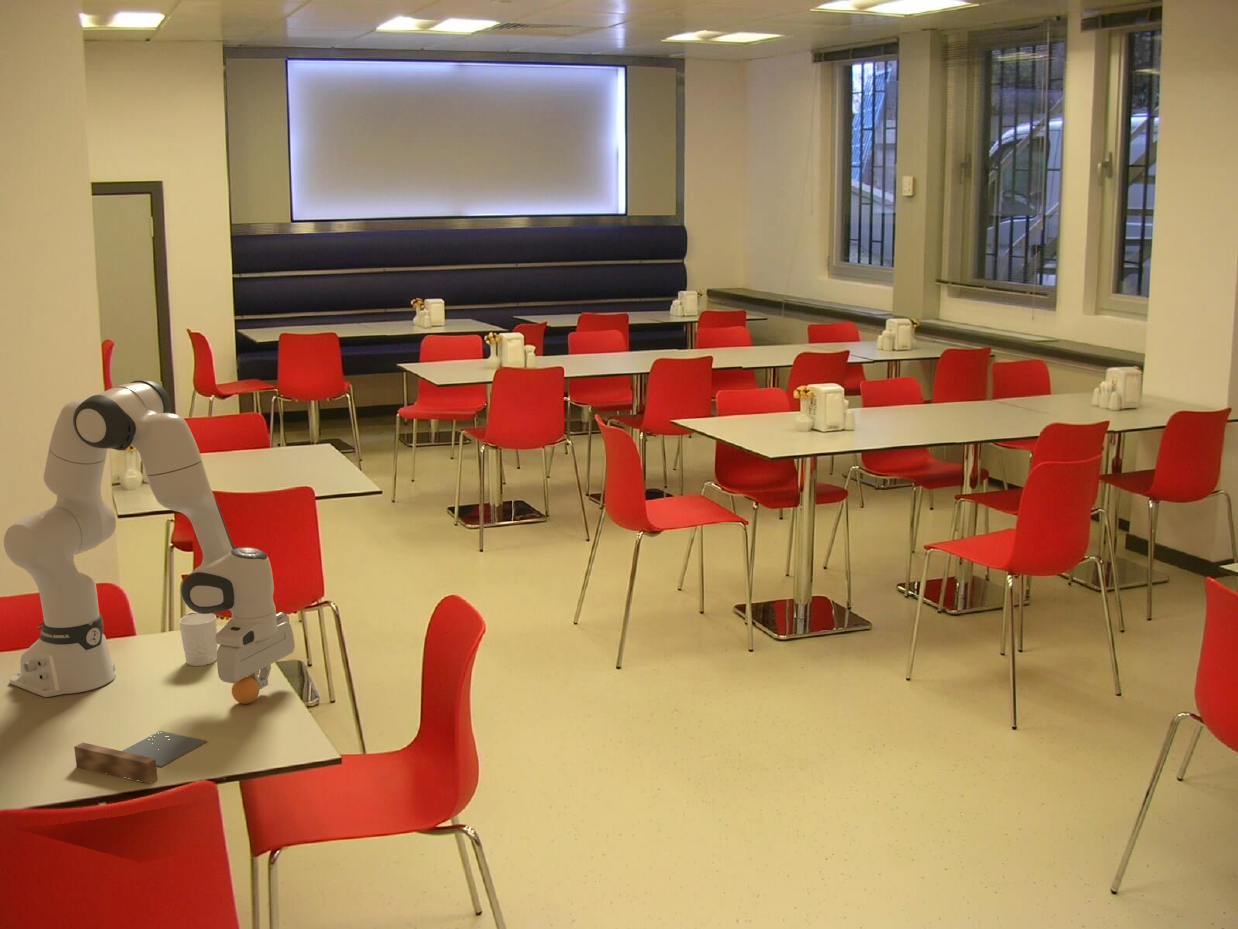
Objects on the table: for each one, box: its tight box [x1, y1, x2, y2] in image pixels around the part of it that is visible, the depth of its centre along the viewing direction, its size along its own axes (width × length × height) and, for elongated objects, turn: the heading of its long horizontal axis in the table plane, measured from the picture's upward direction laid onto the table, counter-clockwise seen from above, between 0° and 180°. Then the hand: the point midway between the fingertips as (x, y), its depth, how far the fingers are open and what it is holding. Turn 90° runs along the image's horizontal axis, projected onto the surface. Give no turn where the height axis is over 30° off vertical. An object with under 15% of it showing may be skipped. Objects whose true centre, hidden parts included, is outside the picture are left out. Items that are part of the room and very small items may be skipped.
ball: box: [231, 676, 260, 705], centre depth 273 cm, size 6×6×6 cm
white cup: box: [178, 612, 218, 667], centre depth 296 cm, size 8×8×10 cm
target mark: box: [122, 730, 208, 768], centre depth 252 cm, size 12×12×1 cm
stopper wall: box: [73, 742, 158, 785], centre depth 242 cm, size 18×2×4 cm, turn 64°
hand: (260, 687), depth 277 cm, fingers closed
